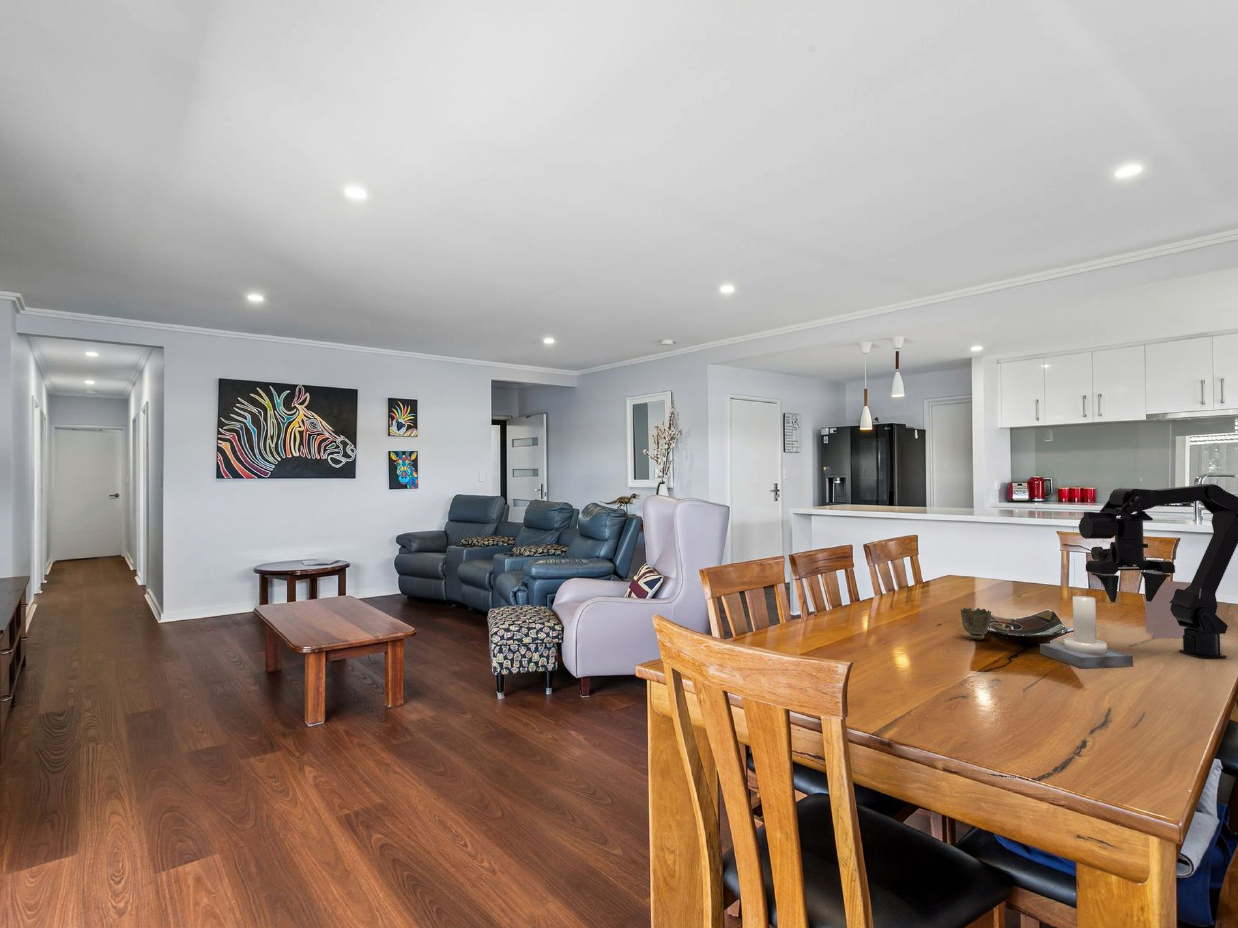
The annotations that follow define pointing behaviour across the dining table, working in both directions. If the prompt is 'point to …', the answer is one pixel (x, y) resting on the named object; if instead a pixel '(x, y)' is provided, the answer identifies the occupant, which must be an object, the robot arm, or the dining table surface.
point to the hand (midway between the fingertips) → (1130, 601)
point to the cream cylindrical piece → (1084, 628)
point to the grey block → (1086, 657)
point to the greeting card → (1164, 612)
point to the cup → (976, 622)
